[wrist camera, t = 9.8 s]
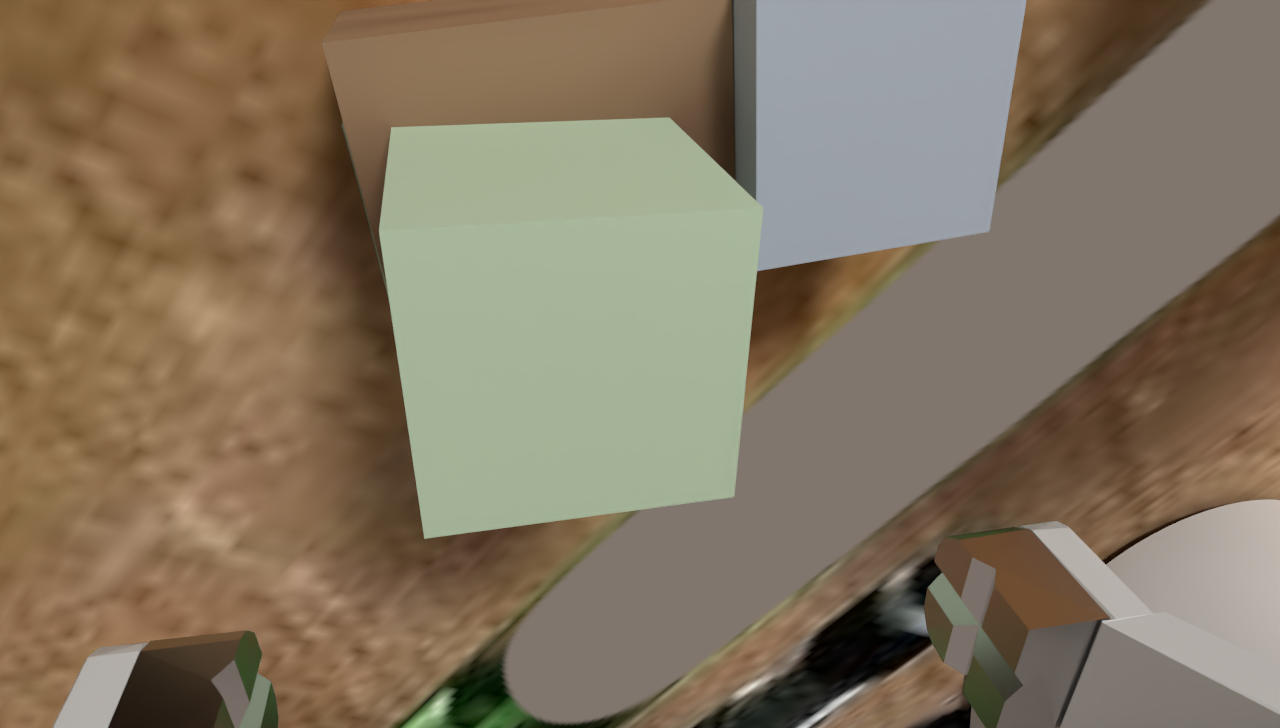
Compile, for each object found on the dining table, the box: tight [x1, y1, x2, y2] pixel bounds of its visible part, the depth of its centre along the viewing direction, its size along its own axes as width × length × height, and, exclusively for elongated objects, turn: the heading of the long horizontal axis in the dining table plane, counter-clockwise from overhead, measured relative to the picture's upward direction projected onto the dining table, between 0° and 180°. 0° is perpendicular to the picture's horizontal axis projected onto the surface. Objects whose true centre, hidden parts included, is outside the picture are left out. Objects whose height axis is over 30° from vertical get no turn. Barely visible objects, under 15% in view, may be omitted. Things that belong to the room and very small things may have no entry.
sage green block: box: [379, 117, 763, 539], centre depth 14 cm, size 5×5×5 cm
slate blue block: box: [732, 0, 1026, 271], centre depth 17 cm, size 5×5×5 cm
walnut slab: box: [322, 0, 736, 299], centre depth 17 cm, size 7×7×4 cm
